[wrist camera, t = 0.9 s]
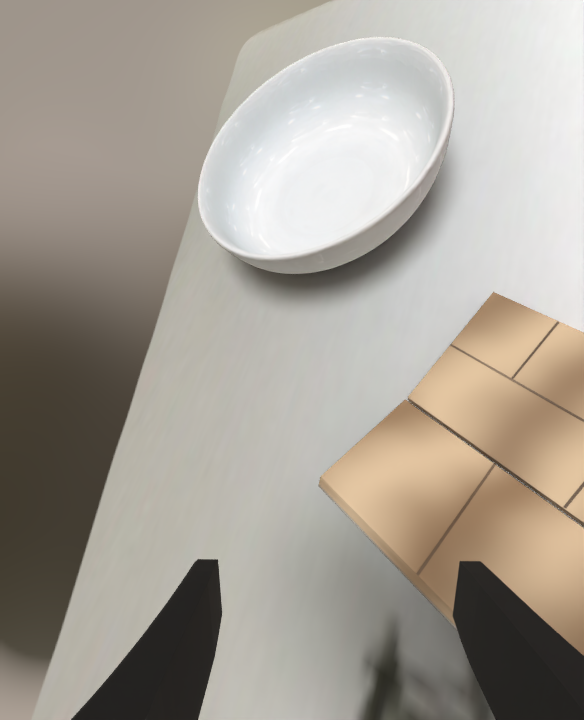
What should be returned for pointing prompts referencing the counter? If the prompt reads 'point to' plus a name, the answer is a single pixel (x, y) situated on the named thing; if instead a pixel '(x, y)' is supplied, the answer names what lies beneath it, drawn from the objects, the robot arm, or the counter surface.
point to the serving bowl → (328, 156)
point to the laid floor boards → (516, 397)
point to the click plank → (459, 519)
